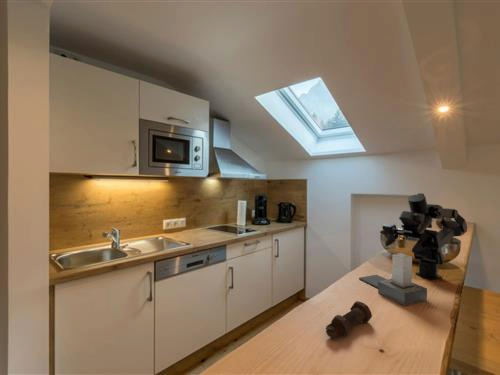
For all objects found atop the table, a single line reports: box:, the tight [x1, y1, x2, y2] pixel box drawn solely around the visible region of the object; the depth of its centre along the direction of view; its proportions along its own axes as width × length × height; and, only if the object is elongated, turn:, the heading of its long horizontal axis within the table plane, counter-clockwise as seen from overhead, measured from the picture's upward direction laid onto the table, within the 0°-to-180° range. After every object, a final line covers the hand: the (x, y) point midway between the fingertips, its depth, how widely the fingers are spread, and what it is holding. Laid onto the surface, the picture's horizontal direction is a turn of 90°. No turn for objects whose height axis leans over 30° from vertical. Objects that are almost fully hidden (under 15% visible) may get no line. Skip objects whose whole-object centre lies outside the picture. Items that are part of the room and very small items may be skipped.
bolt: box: [325, 300, 373, 340], centre depth 66 cm, size 6×5×15 cm
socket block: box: [377, 278, 428, 307], centre depth 84 cm, size 10×10×4 cm
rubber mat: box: [358, 274, 388, 289], centre depth 96 cm, size 9×9×1 cm
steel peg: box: [391, 252, 413, 289], centre depth 84 cm, size 4×4×14 cm
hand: (398, 248), depth 89 cm, fingers open, 9 cm apart
